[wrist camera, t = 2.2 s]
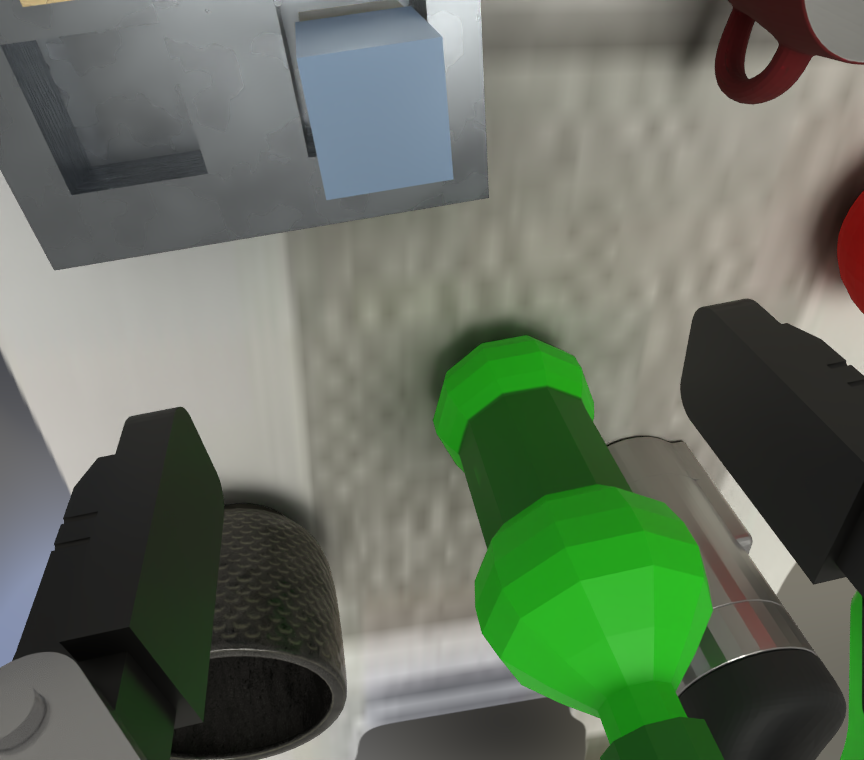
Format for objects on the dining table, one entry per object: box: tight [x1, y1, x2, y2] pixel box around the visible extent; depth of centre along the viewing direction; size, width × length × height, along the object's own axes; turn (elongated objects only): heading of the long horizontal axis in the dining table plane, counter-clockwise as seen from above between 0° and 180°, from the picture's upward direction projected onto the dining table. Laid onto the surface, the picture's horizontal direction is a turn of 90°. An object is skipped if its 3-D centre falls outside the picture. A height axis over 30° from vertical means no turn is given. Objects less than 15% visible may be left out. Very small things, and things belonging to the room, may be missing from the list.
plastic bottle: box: [433, 335, 724, 760], centre depth 32 cm, size 10×10×25 cm
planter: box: [170, 504, 347, 760], centre depth 42 cm, size 14×14×13 cm
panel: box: [0, 0, 489, 270], centre depth 27 cm, size 20×12×4 cm, turn 96°
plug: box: [295, 0, 453, 200], centre depth 24 cm, size 4×4×10 cm
